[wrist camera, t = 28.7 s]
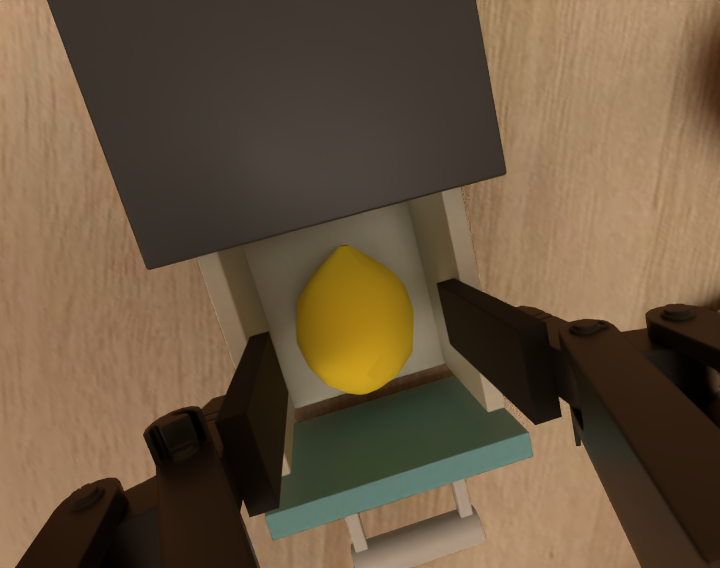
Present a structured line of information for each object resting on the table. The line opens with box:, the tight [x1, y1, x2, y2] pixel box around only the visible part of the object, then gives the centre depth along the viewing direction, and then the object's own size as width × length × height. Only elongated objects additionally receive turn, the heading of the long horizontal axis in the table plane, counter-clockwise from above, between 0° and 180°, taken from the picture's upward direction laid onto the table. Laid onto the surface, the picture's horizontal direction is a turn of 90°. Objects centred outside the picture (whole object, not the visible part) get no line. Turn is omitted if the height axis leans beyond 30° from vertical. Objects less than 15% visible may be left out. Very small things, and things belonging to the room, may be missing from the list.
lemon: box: [296, 245, 414, 395], centre depth 19 cm, size 7×5×5 cm
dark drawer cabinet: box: [47, 0, 506, 270], centre depth 17 cm, size 15×13×9 cm
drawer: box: [196, 187, 533, 568], centre depth 20 cm, size 18×11×7 cm, turn 15°
